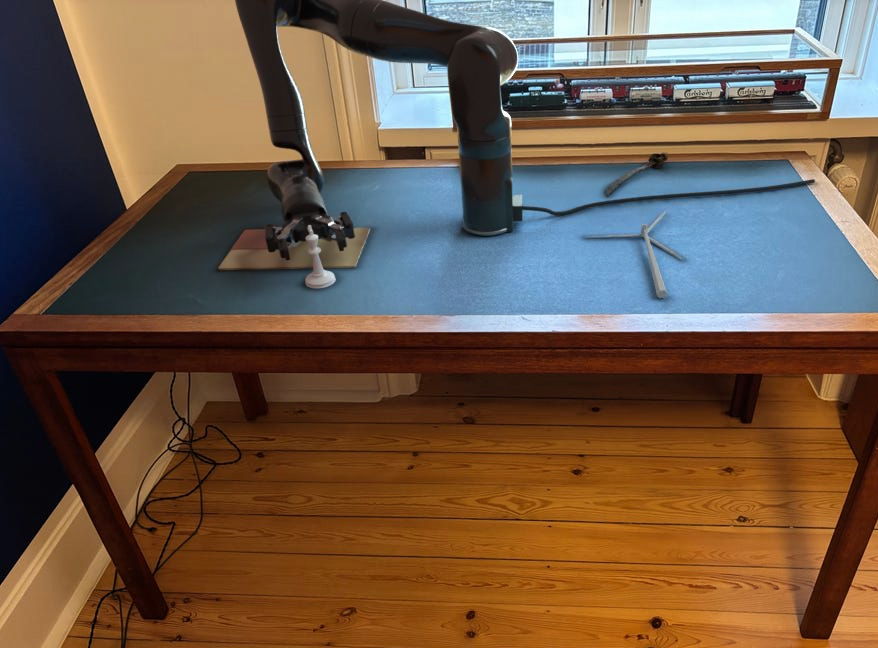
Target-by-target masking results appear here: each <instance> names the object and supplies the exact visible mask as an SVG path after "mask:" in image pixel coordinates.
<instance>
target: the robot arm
mask: <svg viewBox="0 0 878 648" xmlns="http://www.w3.org/2000/svg"><path fill="white" fill-rule="evenodd" d="M234 2H235V6H236V12H237V15H238V18H239V21H240V24H241V28H242V30H243V33H244V36H245V39H246V42H247V43H246V44H247V46H248V49H249V52H250V55H251V58H252V62H253V64H254V68H255V71H256V74H257V77H258V78H257V79H258V81H259V85H260V89H261V93H262V97H263V101H264V102H263V103H264V108H265V115H266V120H267V121H266V122H267V127H268V132H269V138H270V142H271V144H272V145H273V146H274V147H275V148H279V149H284V150H285V149H286V150H293V151H295V152H297V153H298V154H300V157H301V158H300V159H293V160H281V161H276V162H273V163H272V164H271V165H270V166H269V168H268V169H267V173H266V179H267V180H266V181H267V184H268V187H269V189H270V192H271V193H272V195H273V197H274V198H275V199H276V200H277V201H279V202H280V203H281V205H280V206H281V207H280V208H281V213H282V218H283V223H282V225H281V226H277V227H276V226H274V224H273V223H267V224H265V226H264V229H265V239H266V243H267V247H268V252H275V251H276V250H279V252H280V256H281V258H286V261H287V260H290V255H289V249H290V248H295V247H296V246H297V245H299V244H300V243H301V242H304V241H306V239H305V238H306V236H308V235H310V234H309V231H308V225H311V227H312V230H313V233H314V234H315V235H317V236H318V239H323V240H326V241H329V242H331V241H333V240H334V241H337V245H338V248H339V251H344V248H345V247H347V242H346V238H347V237H348V238H349V239H353V238H355V234H354V228H355V227H354V222H353V221H352V219H351V217H350V215H349V214H348V212H347V211H341V212H340V213H339V215H338V217H332V216H331V215H329V213H328V210H327V207H326V204H325V201H324V199H323V197H322V195H321V194H320V193H321V192H322V191H323V189H324V187H325V176H324V172H323V169H322V168H321V166H320V164H319V161H318V159H317V157H316V155H315V152H314V150H313V147H312V144H311V140H310V136H309V131H308V128H307V127H308V126H307V118H306V110H305V106H304V101H303V97H302V95H301V91H300V89H299V87H298V85H297V83H296V81H295V79H294V77H293V75H292V73H291V72H290V69H289V67H288V66H287V63H286V61H285V59H284V56H283V52H282V50H281V46H280V41H279V35H278V28H279V27H280V28H281V27H282V28H283V27H284V28H285V27H286V28H287V27H288V28H289V27H291V28H298V29H303V30H308V31H313V32H317V33H320V34H323V35H325V36H327V37H329V39H331V40H333V41H334V42H335V43H337V44H339V46H342V47H343V48H345V49H346V50H348V51H351V52H352V53H356V54H358V55H360V56H361V55H362V56H365V57H368V58H372V59H375V60H378V61H383V62H388V63H397V64H428V65H429V64H430V65H436V66H442V67H445V68H446V70H447V71H446V73H447V85H448V94H449V103H450V110H451V116H452V119H453V121H454V123H455V125H456V129H457V144H458V145H457V147H458V160H459V161H458V162H459V176H460V177H459V179H460V191H461V193H460V194H461V206H462V207H461V208H462V228H463V230H464V231H465V232H467V233H469V234H470V235H471V234H472V235H476V236H482V237H483V236H484V237H491V236H497V235H502V234H505V233H511V232H514V226H515V222H523V214H524V213H523V212H524V211H532V212H533V211H534V212H542V213H546V214H549V215H551V216H567V215H570V214H573V213H577V212H579V211H583V210H586V209H590V208H594V207H601V206H607V205H614V204H624V203H631V202H632V203H633V202H641V201H652V200H653V201H654V200H665V199H676V198H677V199H678V198H679V199H680V198H691V197H706V196H709V197H710V196H721V195H734V194H735V195H736V194H746V193H747V194H748V193H755V192H764V191H773V190H781V189H788V188H794V187H800V186H805V185H811V184H814V183H815V182H816V179H813V178H812V179H806V180H801V181H795V182H790V183H782V184H776V185H767V186H760V187H759V186H758V187H750V188H738V189H727V190H726V189H725V190H713V191H699V192H697V191H696V192H683V193H681V192H680V193H669V194H655V195H643V196H634V197H625V198H616V199H609V200H602V201H596V202H590V203H585V204H582V205H579V206H576V207H574V208H570V209H566V210H561V211H557V210H556V211H555V210H552V209H550V208H547V207H541V206H530V205H523V194H514V184H513V183H514V178H513V177H514V174H513V173H514V172H513V154H512V153H513V152H512V151H513V150H512V149H513V148H512V147H513V146H512V120H511V116H510V114H509V113H508V112H506V111H504V110H503V105H502V89H501V86H503V85H504V84H505V83H507V82H508V81H509V80H510V79H511V78H512V76H513V75H514V74H515V72H516V70H517V68H518V65H519V54H518V50H517V48H516V45H515V44H514V42H513V40H512V39H511V38H510V37H509V36H508V35H507V34H505V33H504V32H503V31H501V30H499V29H497V28H493V27H487V26H481V25H474V24H467V23H461V22H457V21H456V22H455V21H450V20H446V19H443V18H439V17H435V16H433V15H431V14H427V13H425V12H421V11H419V10H415V9H412V8H408V7H405V6H401V5H398V4H396V3H393V2H389V1H386V0H234Z"/></svg>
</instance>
